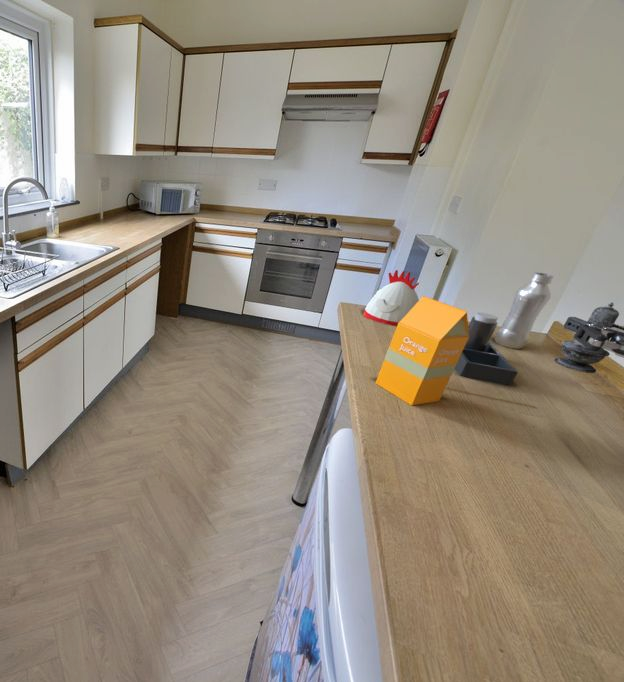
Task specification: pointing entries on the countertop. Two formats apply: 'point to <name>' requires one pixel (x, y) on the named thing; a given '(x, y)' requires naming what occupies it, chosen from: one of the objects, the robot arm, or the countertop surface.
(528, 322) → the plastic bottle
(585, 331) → the robot arm
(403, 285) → the kitchen timer
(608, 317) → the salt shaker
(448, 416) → the countertop surface
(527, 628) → the countertop surface
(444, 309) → the orange juice
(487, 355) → the dark grey tray
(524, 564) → the countertop surface
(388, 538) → the countertop surface
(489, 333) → the pepper shaker
